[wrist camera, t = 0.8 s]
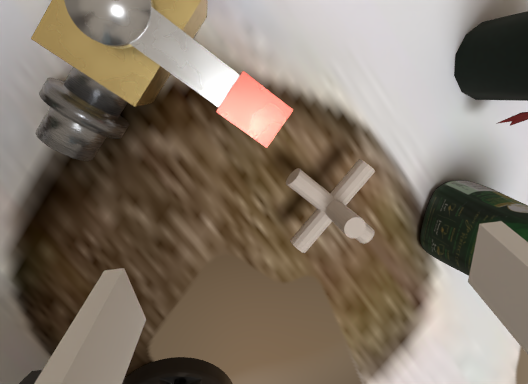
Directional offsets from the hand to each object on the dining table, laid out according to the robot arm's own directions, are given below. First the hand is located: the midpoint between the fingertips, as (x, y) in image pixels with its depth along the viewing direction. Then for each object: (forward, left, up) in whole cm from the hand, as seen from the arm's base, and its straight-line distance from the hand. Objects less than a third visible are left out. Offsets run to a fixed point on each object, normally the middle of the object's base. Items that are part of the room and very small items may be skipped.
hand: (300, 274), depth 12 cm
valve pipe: (0, +14, -22) cm, 26 cm away
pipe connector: (+5, -8, -22) cm, 24 cm away
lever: (+1, +9, -12) cm, 16 cm away
